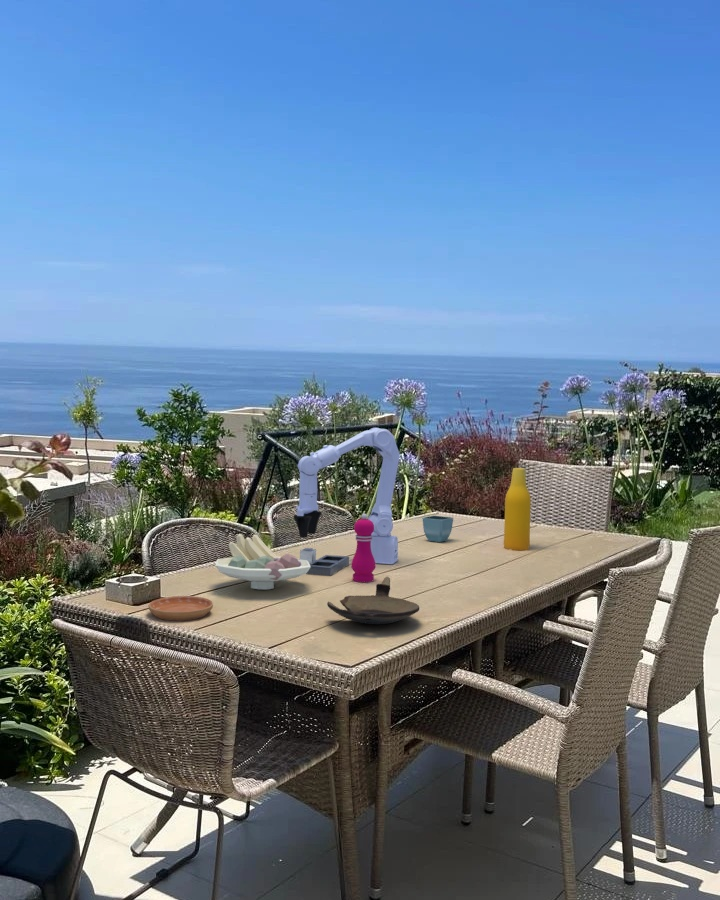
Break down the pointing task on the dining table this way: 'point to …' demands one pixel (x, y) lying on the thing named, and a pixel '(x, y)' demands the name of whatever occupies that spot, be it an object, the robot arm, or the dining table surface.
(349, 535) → the dining table surface
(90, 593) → the dining table surface
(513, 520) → the beer bottle
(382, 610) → the oil lamp
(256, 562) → the dish with food
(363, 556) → the pepper mill
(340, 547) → the dining table surface
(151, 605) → the saucer
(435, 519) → the flower pot
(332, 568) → the blue-grey frame board
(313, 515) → the robot arm
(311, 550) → the grey metal block
